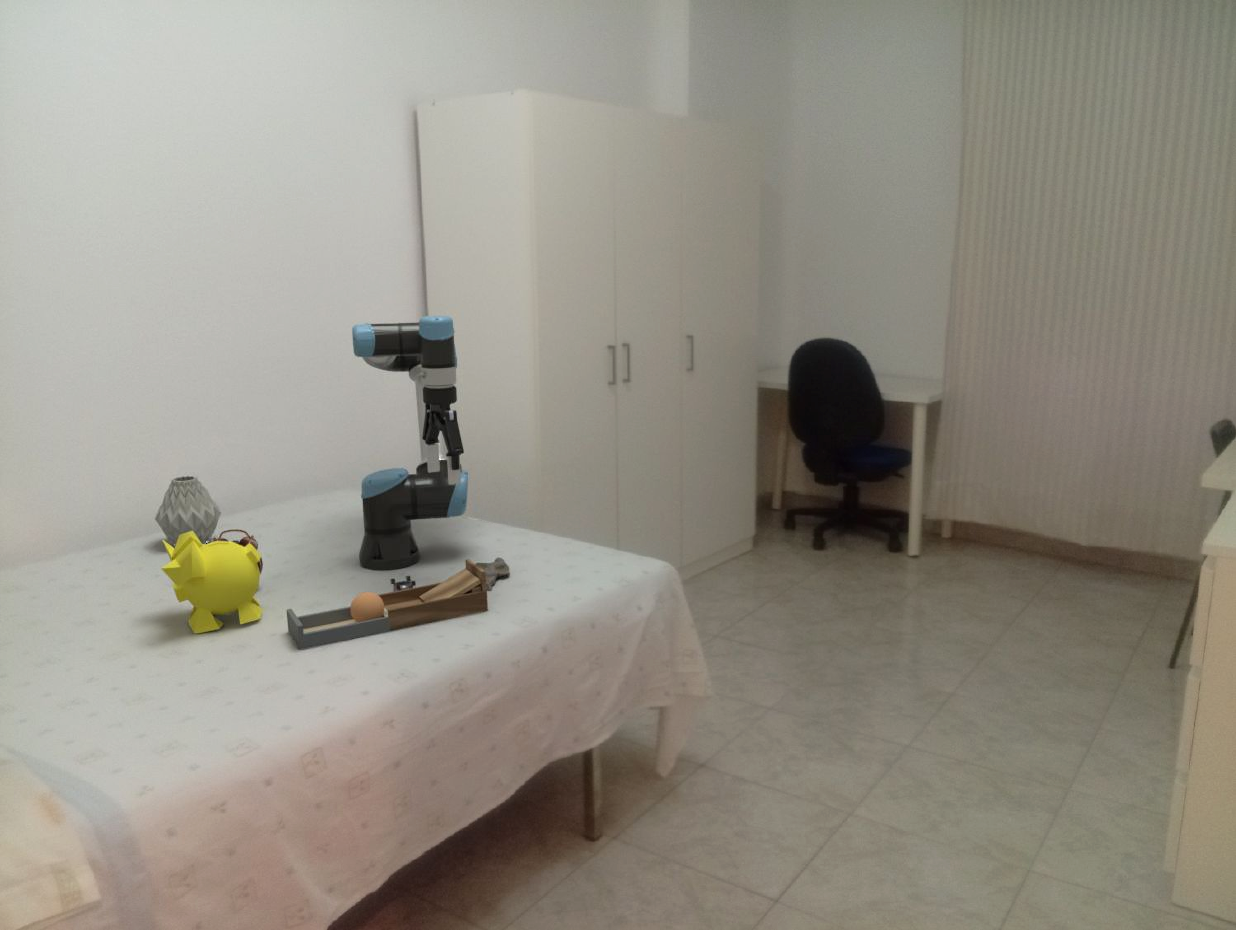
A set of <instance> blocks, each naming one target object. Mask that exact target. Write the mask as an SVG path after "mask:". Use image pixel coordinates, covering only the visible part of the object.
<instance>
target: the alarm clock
mask: <svg viewBox="0 0 1236 930" xmlns="http://www.w3.org/2000/svg"><path fill="white" fill-rule="evenodd" d="M230 532H238V533H239V532H240V533H244V534H245V535H246V536H244V537H242V538H241V539H239V540H231V542H234V543H236V544H239V545H241V546H244V547H245V546H247V545H248V544H249V543H250V544H252V545H253V546H254V548H255V549H256V550H257V551H258V549H259V542H258V541H257V540H256V538H255V536H254V534H251V535H250V534H249V533H248V532H247V531H246V530H244V529H239V528H237V529H228V530H223V531H221V533H220V535H219V537H218V538H217V537H213V542H215V541H229V540H228V539H227V538H224V537H223V538H222V536H223V534H226V533H230ZM257 564H258V568H259V571H260V575H261V574H262V571H263V568H264V567H263V566H264V563H263V558H262V556H261V557H260V561H259V562H257Z"/></svg>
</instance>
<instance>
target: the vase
mask: <svg viewBox="0 0 1236 930" xmlns="http://www.w3.org/2000/svg"><path fill="white" fill-rule="evenodd" d="M170 481H171V483H170V484H169V486H168V489H167V490H166V491H165V492H164V496H163V499H162V504H161V505H160V506H159V507H158V510H157V513H156V514H155V518H154V520H155V521H156V523H157V525H158V526H159V527H160V528H161V531H162V532H163V534H164V535H165V536H166V538H167V539H168V540H169V541H170V542H172V545H174V544H175V545H176V543H177V540H178V537H179V535H180V534H184V533H187V532H190V531H193V532H194V533H195V534H196V536H197V537H198V539H199V540H200V542H201V543H202V544H205V543H206V541H209V542H210V538H211V537H212V536H213V534H214V533H215V531H216V529H217V526H218V523H219V519H220V516H221V514H222V511H221V509H220V507H219V506H218V504H217V502H216V501H215V500H214V499H212V497H211V494H210V492H209V491H208V488H206V487H205V486H204V485H203V484H202V482H201V481H200V480H198V476H194V475H191V476H190V475H187V476H180V477H179V476H178V477H177V476H176V478H172V479H171V480H170Z"/></svg>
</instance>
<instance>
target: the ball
mask: <svg viewBox="0 0 1236 930" xmlns="http://www.w3.org/2000/svg"><path fill="white" fill-rule="evenodd" d="M350 606H351V607H350ZM350 606H349V607H350V611H351V615H352V617H353V619H354V620H355V621H356V622H362V621H367V620H372V619H377V618H382V616H383V613H384V603H383V600H382V599H381V598H380V596H378V594H376V593H375V592H371V591H365V592H361V593H359V594H357V595H356V596H355V597H354V598H353V600H352V602H351V604H350Z"/></svg>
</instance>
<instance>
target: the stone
mask: <svg viewBox="0 0 1236 930" xmlns="http://www.w3.org/2000/svg"><path fill="white" fill-rule="evenodd" d="M475 564H476V565H477V566H479V567H480V568H482V569H483V570H484V571H485V572H486V591H487V592H492V591H493V586H495V584H496V580H497V578H500V577H504V576H507V575H510V566H509V565H508V564H507V563H506V561H505V560H504V559H503V558H502V557H496V558H495V559H494V561H493V562H476V563H475Z"/></svg>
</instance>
